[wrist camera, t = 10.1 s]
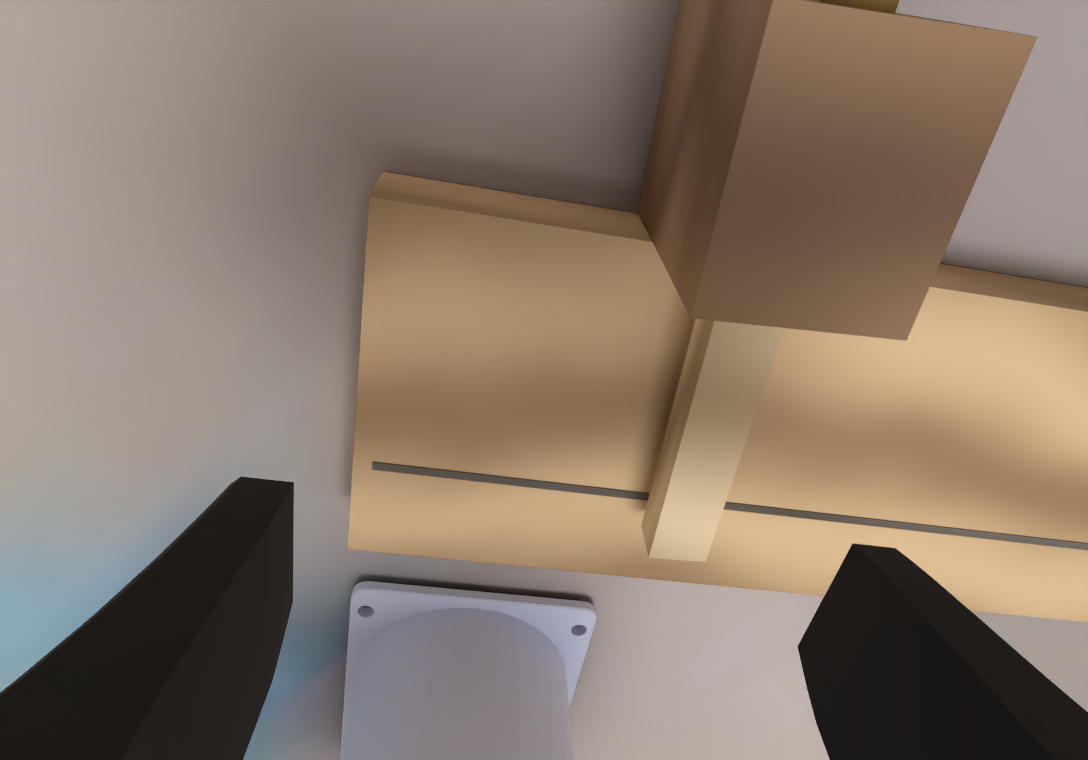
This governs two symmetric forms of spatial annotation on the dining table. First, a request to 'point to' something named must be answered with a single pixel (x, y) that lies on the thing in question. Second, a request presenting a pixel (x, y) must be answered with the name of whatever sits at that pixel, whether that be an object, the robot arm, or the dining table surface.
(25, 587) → the dining table surface
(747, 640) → the dining table surface
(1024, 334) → the board
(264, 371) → the dining table surface
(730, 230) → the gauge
